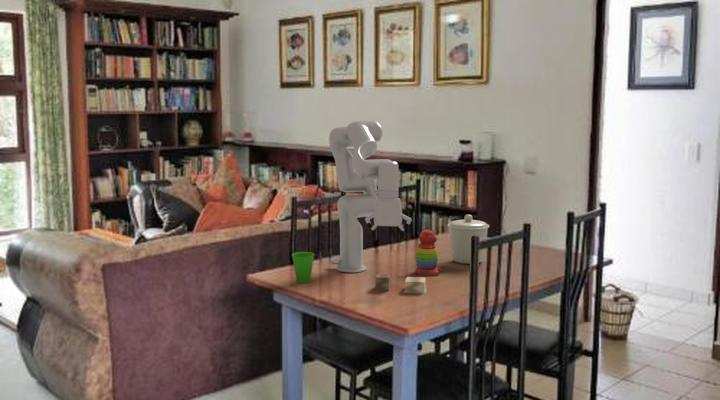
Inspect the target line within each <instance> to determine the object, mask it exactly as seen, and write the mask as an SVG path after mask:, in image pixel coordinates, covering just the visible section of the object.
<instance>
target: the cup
mask: <svg viewBox="0 0 720 400" xmlns="http://www.w3.org/2000/svg"><path fill="white" fill-rule="evenodd" d="M315 255H316V254H315V253H314V252H308V251H299V252H298V251H297V252H293V253H292V254H291V256H292V262H293V268H294V273H295V278H296V279H295V280H296V283H297V284H308V283H310V282H311V278H312V270H313V265H314V264H313V263H314V257H315Z"/></svg>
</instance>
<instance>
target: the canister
mask: <svg viewBox="0 0 720 400" xmlns="http://www.w3.org/2000/svg"><path fill="white" fill-rule="evenodd" d="M463 218H464V219H457V220H452V221H451V222H449V223H448V224H447V227H448V231H449V242H450V253H451V258H452V259H453V261H454V262H456V263H458V264H462V265H471V264H470V249H471V237H472V236H473V235H476V236H479V237H483V238H486V239H487V237H488V229H489V228H490V224H488V223H487V222H485V221H483V220H479V219H478V220H477V219H473V215H471V214H465V216H464V217H463ZM485 251H486V250H481V251H480V253H479V263H481V262H482V261H483V260H484V257H485ZM479 263H478V264H479Z"/></svg>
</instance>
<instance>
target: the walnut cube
mask: <svg viewBox="0 0 720 400" xmlns="http://www.w3.org/2000/svg"><path fill="white" fill-rule="evenodd" d="M391 276H392V274H388V273H384V274H383V273H377V274H376V276H375V286H374V287H375V289H374V290H375V291H382V292H385V291H386V292H389V291H390V289H391V287H392V286H391V284H392V283H391V281H392V277H391Z"/></svg>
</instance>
